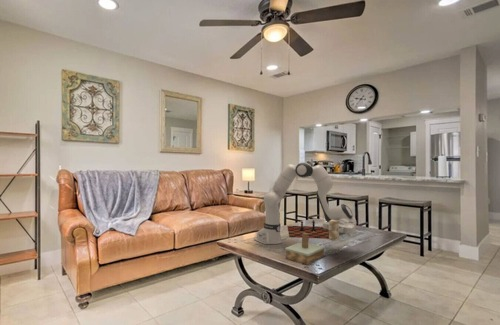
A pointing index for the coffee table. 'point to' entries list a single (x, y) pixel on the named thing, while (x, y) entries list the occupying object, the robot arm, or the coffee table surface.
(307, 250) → the lid
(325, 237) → the chessboard
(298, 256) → the open wooden box
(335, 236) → the tan wooden block
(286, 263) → the coffee table surface
